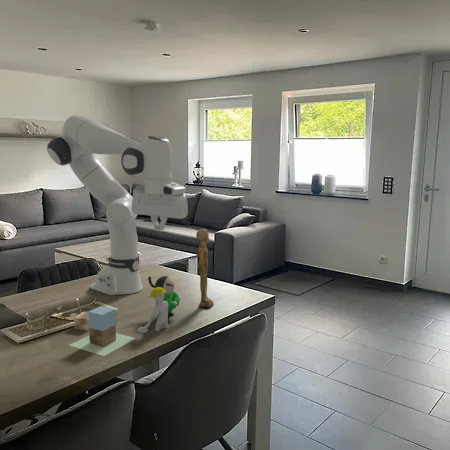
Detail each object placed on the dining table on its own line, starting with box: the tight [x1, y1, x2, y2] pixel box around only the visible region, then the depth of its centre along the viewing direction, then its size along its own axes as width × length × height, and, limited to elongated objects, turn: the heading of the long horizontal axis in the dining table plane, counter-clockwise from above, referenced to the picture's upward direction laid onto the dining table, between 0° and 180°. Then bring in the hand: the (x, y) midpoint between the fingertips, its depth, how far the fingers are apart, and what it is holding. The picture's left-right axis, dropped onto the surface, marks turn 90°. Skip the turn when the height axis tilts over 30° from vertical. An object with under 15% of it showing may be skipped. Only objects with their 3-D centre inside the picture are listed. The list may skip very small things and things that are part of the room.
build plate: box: [68, 332, 136, 357], centre depth 140 cm, size 14×14×1 cm
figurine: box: [136, 287, 170, 334], centre depth 149 cm, size 10×9×15 cm
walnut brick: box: [88, 324, 117, 347], centre depth 139 cm, size 6×6×5 cm
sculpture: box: [195, 228, 215, 308], centre depth 172 cm, size 7×6×30 cm
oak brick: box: [73, 311, 89, 332], centre depth 151 cm, size 6×6×5 cm
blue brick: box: [87, 305, 116, 331], centre depth 138 cm, size 6×6×5 cm
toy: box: [147, 275, 181, 317], centre depth 162 cm, size 10×11×15 cm
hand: (159, 229), depth 149 cm, fingers closed
